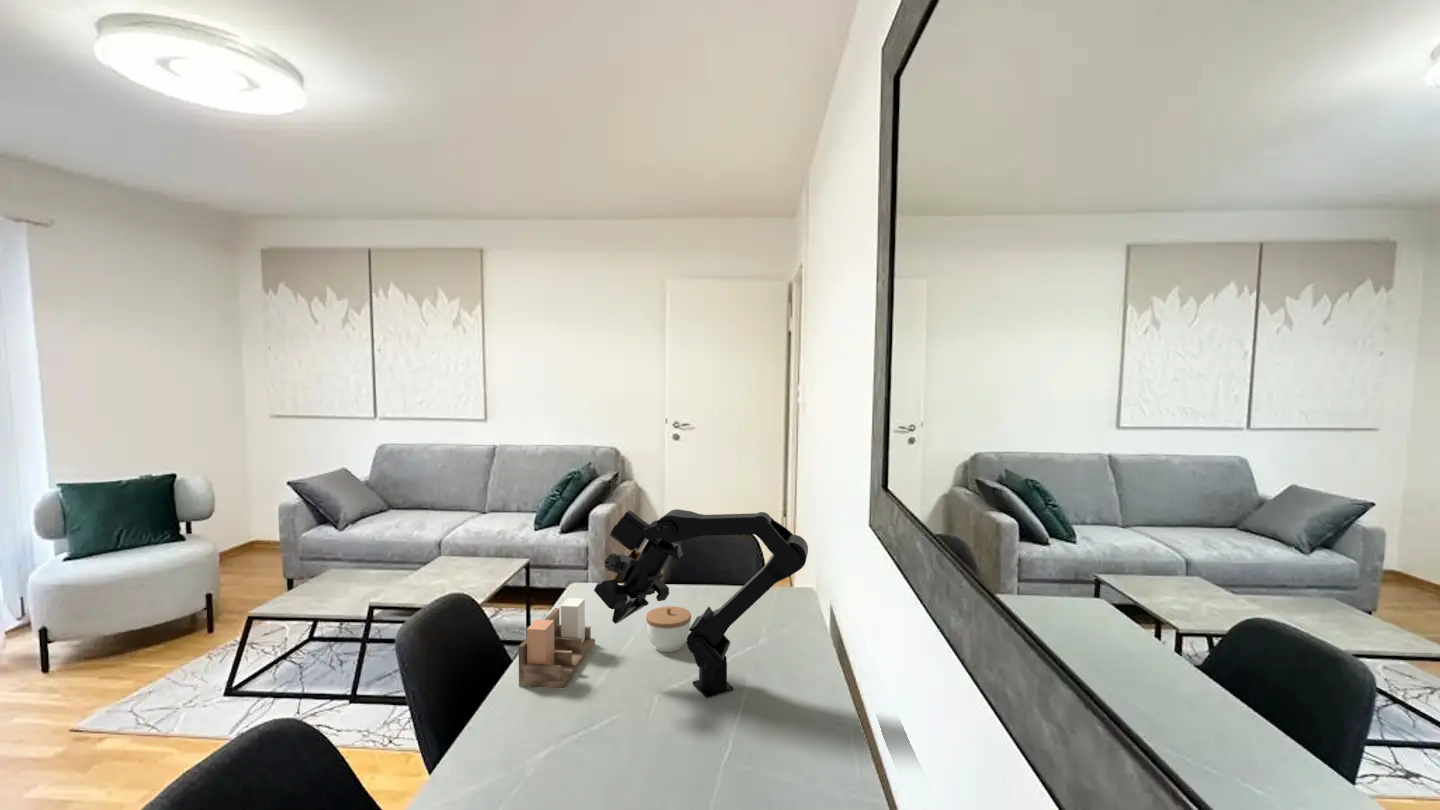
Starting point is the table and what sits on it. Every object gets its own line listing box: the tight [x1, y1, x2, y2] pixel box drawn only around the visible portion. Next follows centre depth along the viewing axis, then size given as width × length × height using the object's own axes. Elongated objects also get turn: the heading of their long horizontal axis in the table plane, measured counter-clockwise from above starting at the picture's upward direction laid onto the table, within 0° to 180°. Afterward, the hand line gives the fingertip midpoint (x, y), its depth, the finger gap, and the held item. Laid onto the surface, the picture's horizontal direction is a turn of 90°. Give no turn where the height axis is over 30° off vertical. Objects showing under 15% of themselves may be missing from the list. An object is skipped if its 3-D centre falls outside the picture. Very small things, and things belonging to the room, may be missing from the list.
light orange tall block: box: [526, 618, 554, 665], centre depth 129 cm, size 4×5×10 cm
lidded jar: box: [645, 605, 692, 653], centre depth 144 cm, size 11×11×9 cm
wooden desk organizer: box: [518, 607, 596, 690], centre depth 135 cm, size 10×21×8 cm, turn 174°
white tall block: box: [560, 597, 586, 643], centre depth 141 cm, size 4×5×10 cm
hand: (614, 622), depth 129 cm, fingers closed
